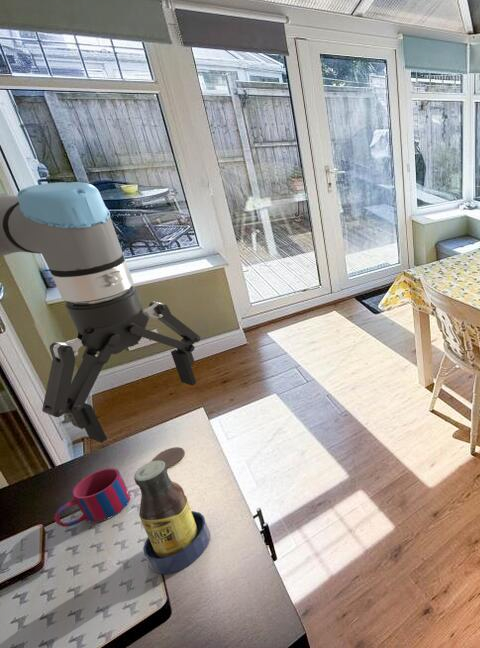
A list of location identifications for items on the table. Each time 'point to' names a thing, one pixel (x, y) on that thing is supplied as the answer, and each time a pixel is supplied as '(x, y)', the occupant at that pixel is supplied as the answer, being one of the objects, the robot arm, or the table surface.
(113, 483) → the mug
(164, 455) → the coaster
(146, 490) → the sauce bottle
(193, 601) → the table surface
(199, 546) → the bowl
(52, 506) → the table surface
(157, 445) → the table surface
